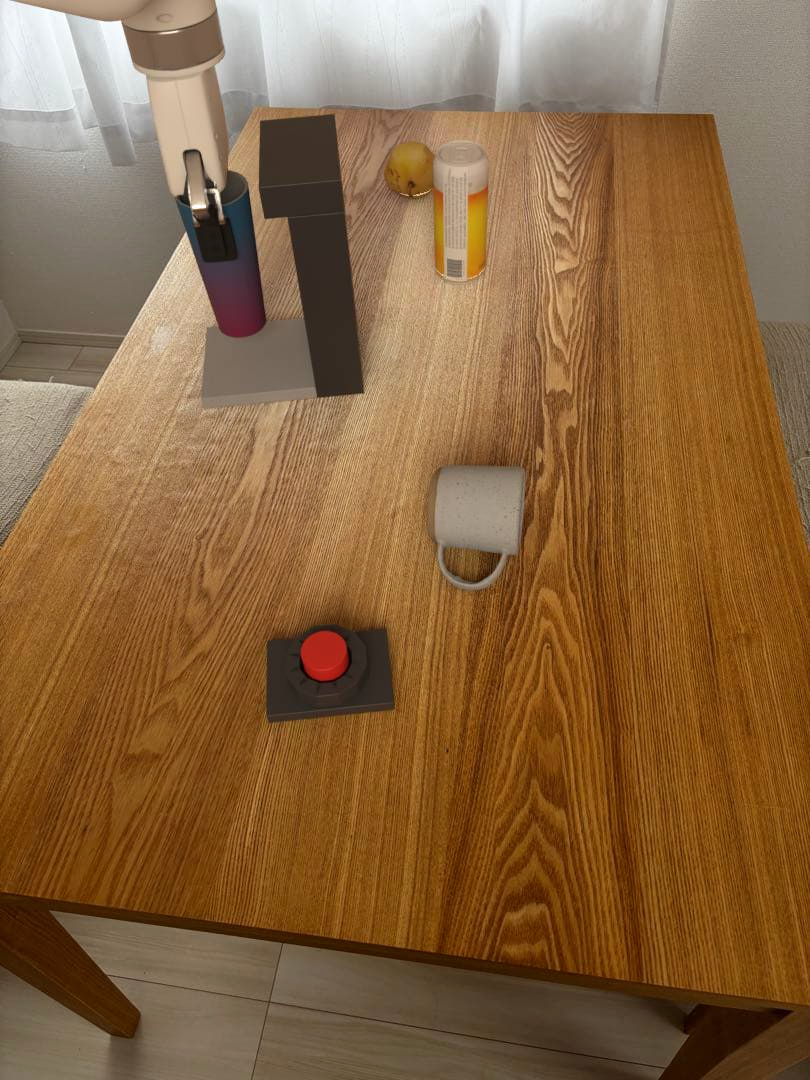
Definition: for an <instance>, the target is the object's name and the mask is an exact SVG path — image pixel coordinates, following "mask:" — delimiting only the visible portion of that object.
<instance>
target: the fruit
mask: <svg viewBox="0 0 810 1080" xmlns="http://www.w3.org/2000/svg"><path fill="white" fill-rule="evenodd" d="M435 156H436V154H435V153H434V152H433V151H432V150H431V149H430V148H429V147H428V145H426V144H425V143H423V142H418V141H406V142H402V143H400V144H397V146H395V147H394V148H393V150H392V151H391V152H390V155H389V158H388V160H387V163H386V164H385V166H384V167H385V168H384V170H383V177H384V179H385V182H386V184H387V186H388V187H389V188H390V189H391V190H392V191H394V192H395V193H397V192H398V193H397V194H399V193H403V194H408V195H409V196H405V195H401V194H399V195H400V196H402V197H403V198H408V199H421V198H423V197H425V196H427V195H428V194H429V193H430V192H428V193H426V194H423V195H420V196H413V195H416V194H420V193H424V192H427V191H429V190H430V189H432V188H433V160H434V158H435ZM432 190H433V189H432Z"/></svg>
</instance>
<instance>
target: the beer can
mask: <svg viewBox="0 0 810 1080" xmlns="http://www.w3.org/2000/svg"><path fill="white" fill-rule="evenodd" d="M489 171H490V159H489V157H488V155H487V153H486V149H485V147H484V146H483V145H482V144H480V143H479V142H477V141H475V140H474V141H473V140H468V139H456V140H450V141H447V142H445V143H443V144H441V145H440V146H439V147H438V148H437V150H436V154H435V158H434V160H433V189H432V190H433V232H434V233H433V234H434V236H433V237H434V270H435V272H436V273H437V275H439V276H440V278H441V279H442V280H443V281H444V282H446V283H448V284H451V285H457V286H459V285H460V286H461V285H463V286H464V285H469V284H471V283H474V282H476V281H477V280H478V279H480V277H481V275H483V274H484V272H485V270H486V267H487V266H486V267H485V264H487V260H486V259H487V234H488V205H489V204H488V203H489V199H488V198H489ZM435 267H436V269H437V270H438V271H439V272H440V273H441V274H444V275H445V276H448V277H451V278H457V279H463V278H470V277H473V276H475V275H478V274H479V273H480V272H481V271H482V270H483V269H484V267H485V270H484V271H483V272H482V273H481V274H480V275H479V276H477V277H475V278H472V279H468V280H451V279H448V278H445V277H443V276H441V275H440V274H439V273H438V272H437V271H436V269H435Z"/></svg>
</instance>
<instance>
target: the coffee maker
mask: <svg viewBox="0 0 810 1080" xmlns="http://www.w3.org/2000/svg"><path fill="white" fill-rule="evenodd" d="M258 158H259V159H258V192H259V193H258V194H259V198H260V203H261V209H262V214H263V218H264V220H271V219H281V218H287V223H288V224H287V225H288V230H289V234H290V241H291V242H290V243H291V247H292V254H293V260H294V266H295V272H296V278H297V286H298V290H299V296H300V297H299V298H300V303H301V308H302V316H303V318H302V317H300V318H290V319H289V318H288V319H280V320H270V321H266V324H265V326H264V327H263V328H262V329H261V330H260V331H259V332H257V333H256V334H254V335H251V336H248V337H243V338H234V337H229V336H227V335H225V334H223V333H222V332H221V331H220V329H219V327H218V325H217V326H208V327H207V326H206V333H205V344H204V358H203V369H202V371H203V372H202V382H201V383H202V384H201V397H200V399H201V402H202V406H203V409H204V410H209V409H219V408H228V407H229V408H230V407H239V406H250V405H259V404H269V403H279V402H291V401H301V400H310V399H321V398H328V397H330V398H331V397H340V396H341V397H342V396H348V395H361V394H365V389H364V378H363V369H362V368H363V367H362V357H361V347H360V337H359V336H360V335H359V328H358V317H357V307H356V300H355V299H356V297H355V290H354V281H353V280H354V279H353V271H352V260H351V254H350V253H351V251H350V244H349V243H350V242H349V234H348V233H349V232H348V224H347V216H346V215H347V213H346V207H345V196H344V188H343V186H344V185H343V177H342V170H341V158H340V151H339V140H338V132H337V124H336V115H335V113H329V114H319V115H309V116H308V115H307V116H296V117H285V118H274V119H263V120H260V121H259V151H258Z"/></svg>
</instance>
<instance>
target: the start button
mask: <svg viewBox="0 0 810 1080" xmlns="http://www.w3.org/2000/svg"><path fill="white" fill-rule="evenodd" d="M301 658H302V661H303V665H304V669H305V671H306V673H307V674H308V675H309V676H310V677H312V678H313V679H315V680H318V681H331V680H334V679H336V678H338V677H339V676H341V675H342V674H343V673H344V672H345V670H346V669H347V666H348V663H349V657H348V651H347V646H346V643H345V641H344V639H343V638H342V637H341V636H340V635H338V634H337V633H334V632H331V631H320V632H317V633H314V634H312V635H311V636H309V637H308V638H307V639H306V640H305V641H304V643H303V645H302V648H301Z"/></svg>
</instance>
